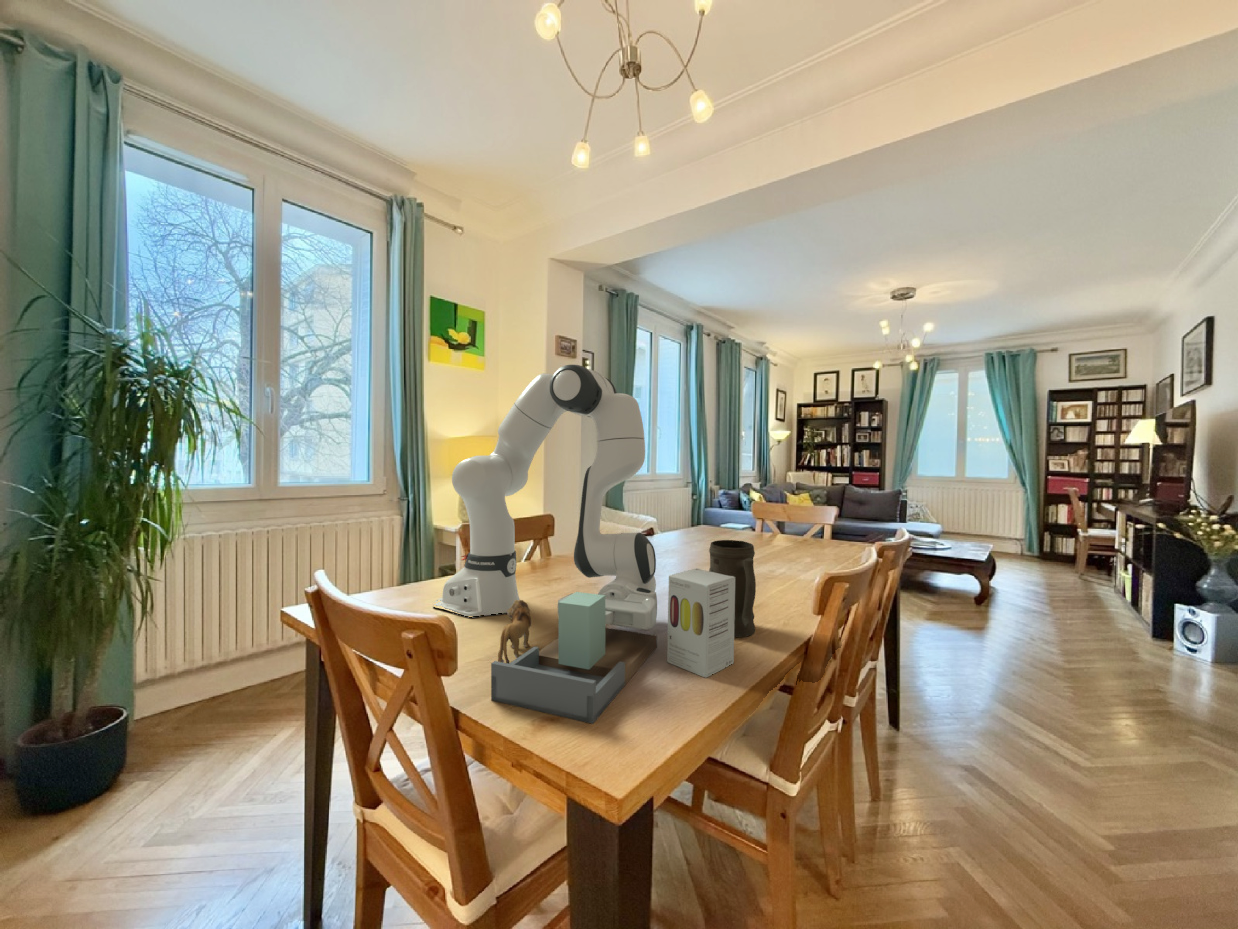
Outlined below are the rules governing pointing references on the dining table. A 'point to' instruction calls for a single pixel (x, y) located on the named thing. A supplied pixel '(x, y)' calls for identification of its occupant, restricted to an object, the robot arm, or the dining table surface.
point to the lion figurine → (515, 629)
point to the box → (554, 687)
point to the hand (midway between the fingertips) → (590, 622)
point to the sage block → (581, 629)
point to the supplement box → (701, 621)
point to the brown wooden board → (609, 653)
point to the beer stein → (737, 579)
